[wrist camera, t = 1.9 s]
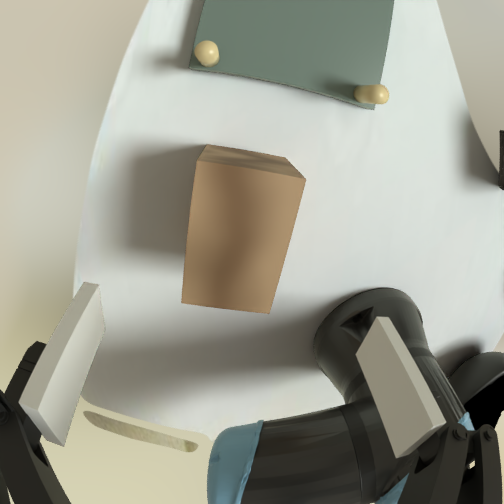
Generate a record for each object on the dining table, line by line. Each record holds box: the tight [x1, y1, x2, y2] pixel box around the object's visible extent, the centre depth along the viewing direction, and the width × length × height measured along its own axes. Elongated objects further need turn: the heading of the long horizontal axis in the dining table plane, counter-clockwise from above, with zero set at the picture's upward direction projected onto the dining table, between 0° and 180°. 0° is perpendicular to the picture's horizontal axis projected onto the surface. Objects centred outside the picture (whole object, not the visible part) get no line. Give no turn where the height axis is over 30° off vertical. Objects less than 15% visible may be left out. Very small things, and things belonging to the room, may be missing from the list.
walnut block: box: [181, 144, 306, 314], centre depth 24 cm, size 7×11×8 cm, turn 169°
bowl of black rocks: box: [448, 352, 504, 431], centre depth 38 cm, size 20×20×19 cm
